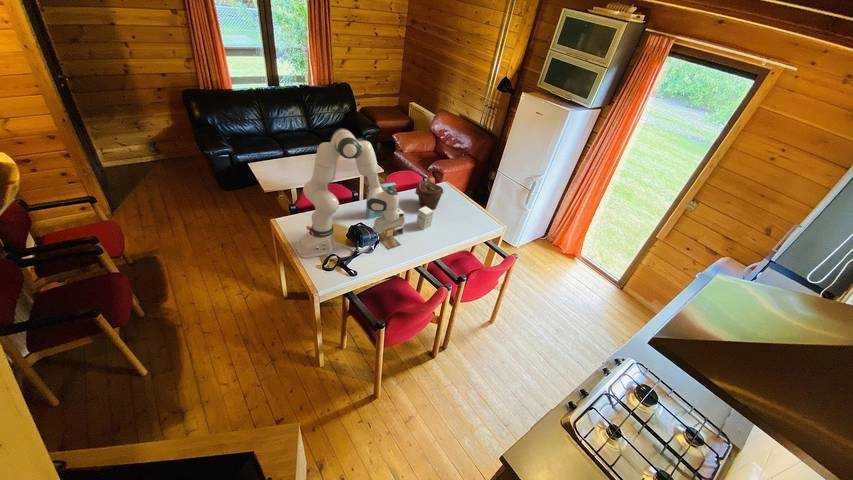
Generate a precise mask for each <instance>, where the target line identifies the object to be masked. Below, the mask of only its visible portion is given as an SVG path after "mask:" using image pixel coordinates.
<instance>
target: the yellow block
mask: <svg viewBox="0 0 853 480" xmlns="http://www.w3.org/2000/svg"><path fill="white" fill-rule="evenodd" d="M385 231H386V232H387V234H385V235H386V236H387V237H388V236H391V235H392V236H393V230H392V229H391V228H389V229H386V230H385ZM382 232H383V231H381V233H382Z"/></svg>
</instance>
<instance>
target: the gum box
mask: <svg viewBox="0 0 853 480" xmlns="http://www.w3.org/2000/svg"><path fill="white" fill-rule="evenodd" d="M380 184H381V186H382V187H383V188H384V190H386V189H393V190H395V191H396V192H397V189H396V188H397V184H396V183H395V182H394V181H389V182H384V183H380ZM369 188H370V186H369V185H368V186H366V202H365V203H366V207H365V208H366V209H365V216H366V217H367V220H371V219H375V218H379V217H382V216H383V211H372V210H370V209H369V208H368V206H367V201H368V193H369Z"/></svg>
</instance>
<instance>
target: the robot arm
mask: <svg viewBox="0 0 853 480" xmlns="http://www.w3.org/2000/svg"><path fill="white" fill-rule="evenodd" d="M371 143H372V142H370V141H368V140H357V139H356V136H355V135H354V134H353V133H352V132H351V131H350V130H349V129H347V128H343V127H340V128H338V129H336V130H335V131H334V132H333V134H332V135H331V136H330V138H329V142H328V141H326V142H325V141H324V142H321V143H319V145H318V148H317V150H316V155H315V159H314V166H313V171H312V176H311V178H310V180H309V181H307V182H306V183H304V186H303V187H302V188H303V189H302V192H303V194H304V196H305V197H306V199H308V201H309V202H310V203H312V204H313V206H314V209H315V210H314V211H313V212H312V213H311V222H312V223H311V226H309V225H306V230H307V231H308V232H307V233H306V234H304V235H303V236H302V237H301V238H300V241H299V242H298V243H297V244H296V246H295V248H296V251H297V254H299V256H300V257H302V258H304V259H310V258H317V257H323V256H327V255H331V254H332V253H333V250H334V249H335V248H336V246H337V244H336V241H335V238H334V225H333V214H334V213H336V212H337V210H338V209H339V207H340V202H339V199H338V198H337V196H335V194H333V192H331V191H330V190H329V189H328V188H329V187H328V186H329V184H330V183H333V182H334V180H335V179H336V173H337V167H338V160H339V158H340V156H341V157H342V158H344V159H347V160H349V159H350V160H352V159H355V164H356V167H357V171H358V173H359V174H360V176H362V177H367V182H368V187H369V186H370V188H369V193H368V201H367V200H366V202H367V206H368V208H369V209H370V210H372V211H383V216H379V217H376V219H375V220H374V224H373V230H374V231H375V232H376V233H381V232H382V231H383V234H384V235H385V234H387V232H386V231H385V230H386V229H389V228H392V230H393V232H394V230H395V228H396V226H398V225H402V226H403V224H404V223H405V220H406V217H405V212H404V211H403V210H402V209H401V208H399V204H400V203H399V198H400V197H399V193H398V191H397V190H396V191H395V190H393V189H386V190H384V188H383V187H382V186H381V184H382V183H381V182H380V179H379V175H378V160H377V156H376V152H375V150H374V148H373V145H372V144H371Z"/></svg>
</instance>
